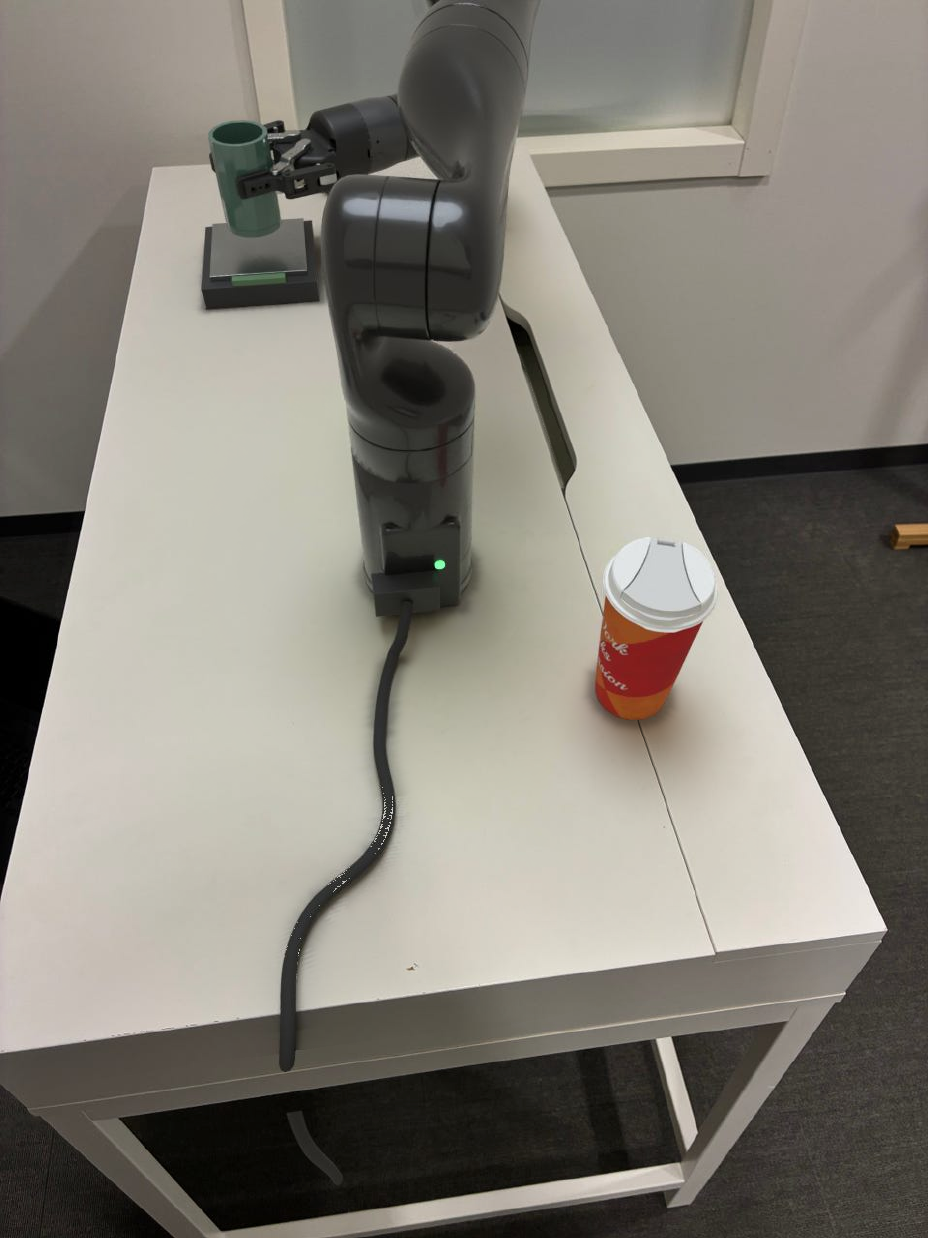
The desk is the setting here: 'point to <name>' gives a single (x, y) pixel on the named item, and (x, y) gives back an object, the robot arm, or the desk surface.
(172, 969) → the desk surface
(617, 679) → the paper cup
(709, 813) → the desk surface
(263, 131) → the tumbler
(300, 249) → the scale
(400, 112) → the robot arm
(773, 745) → the desk surface
